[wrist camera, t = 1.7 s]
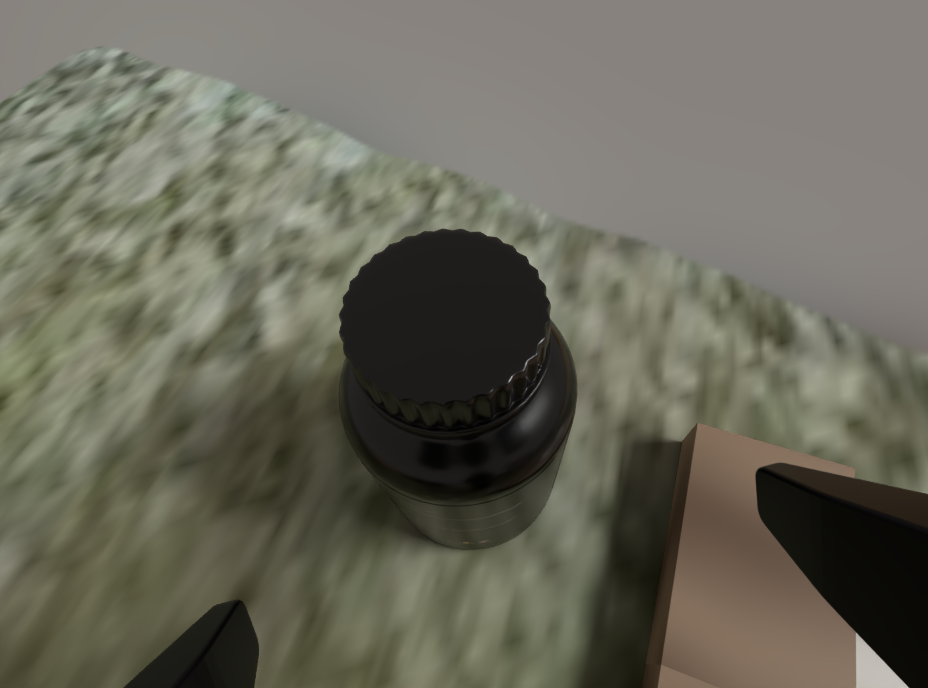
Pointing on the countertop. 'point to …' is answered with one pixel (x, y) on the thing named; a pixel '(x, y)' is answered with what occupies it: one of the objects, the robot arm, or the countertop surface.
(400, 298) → the supplement bottle
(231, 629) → the robot arm
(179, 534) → the countertop surface
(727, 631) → the notched shelf board
